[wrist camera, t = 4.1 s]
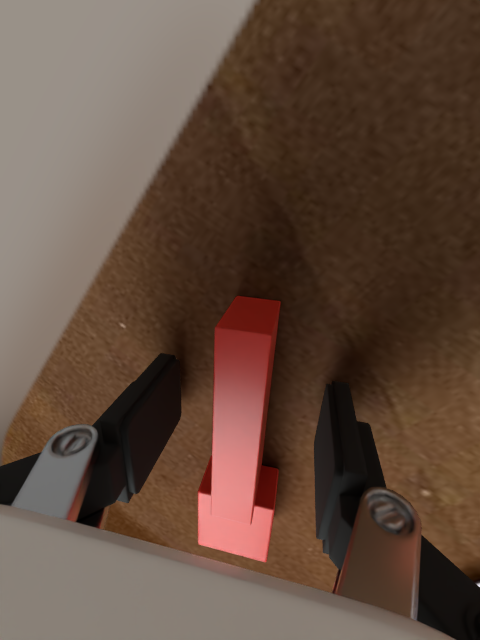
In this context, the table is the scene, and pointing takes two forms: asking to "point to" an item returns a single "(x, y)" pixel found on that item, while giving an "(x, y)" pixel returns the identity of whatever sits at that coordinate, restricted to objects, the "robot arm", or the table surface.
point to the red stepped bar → (240, 433)
